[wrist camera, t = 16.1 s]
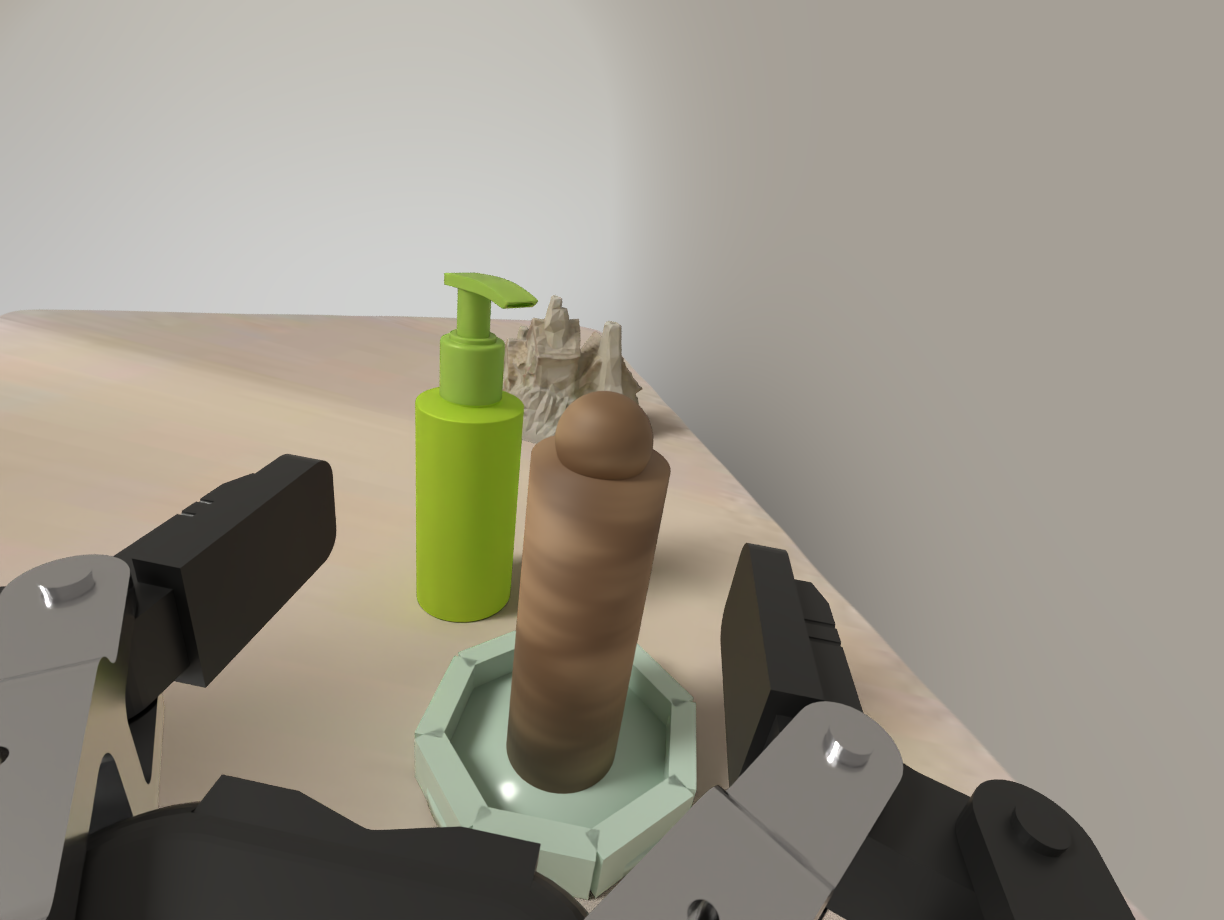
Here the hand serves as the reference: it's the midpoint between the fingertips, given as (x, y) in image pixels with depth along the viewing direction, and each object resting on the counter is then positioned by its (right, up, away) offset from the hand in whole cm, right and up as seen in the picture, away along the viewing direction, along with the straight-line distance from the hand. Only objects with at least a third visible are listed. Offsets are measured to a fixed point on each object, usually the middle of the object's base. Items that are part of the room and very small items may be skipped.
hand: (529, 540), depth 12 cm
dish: (-1, -13, +17) cm, 22 cm away
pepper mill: (-1, -12, +17) cm, 21 cm away
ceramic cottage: (-4, +6, +57) cm, 58 cm away
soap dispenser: (-8, -7, +27) cm, 29 cm away
